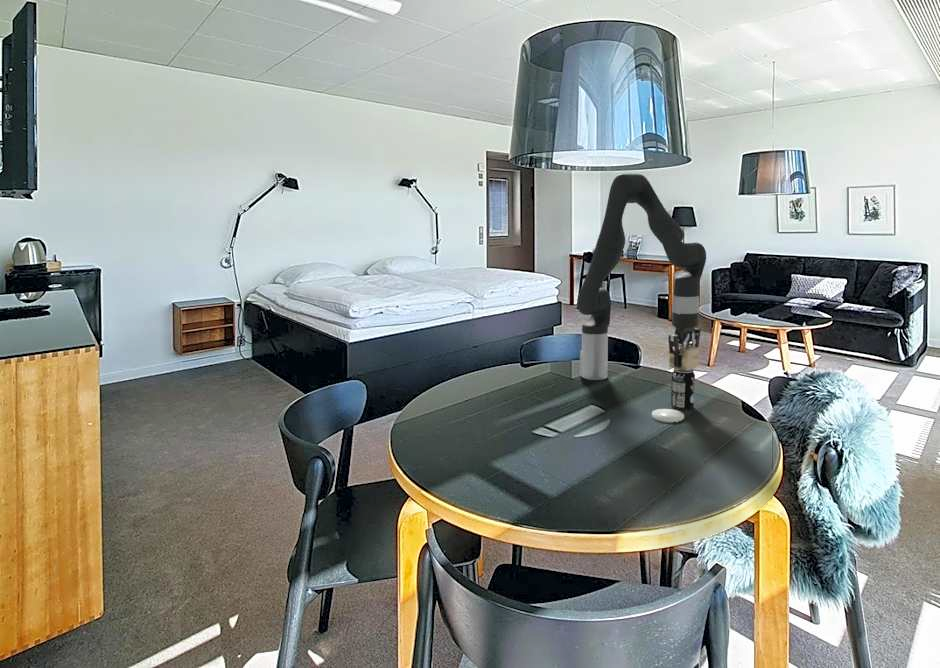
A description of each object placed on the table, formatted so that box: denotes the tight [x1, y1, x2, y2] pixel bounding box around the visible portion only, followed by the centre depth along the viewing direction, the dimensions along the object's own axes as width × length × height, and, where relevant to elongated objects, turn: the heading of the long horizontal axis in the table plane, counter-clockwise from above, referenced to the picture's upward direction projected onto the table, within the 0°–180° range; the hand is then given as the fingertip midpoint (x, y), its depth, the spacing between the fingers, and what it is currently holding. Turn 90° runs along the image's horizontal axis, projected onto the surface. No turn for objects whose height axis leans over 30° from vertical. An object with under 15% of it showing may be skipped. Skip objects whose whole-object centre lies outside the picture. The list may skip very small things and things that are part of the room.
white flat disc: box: [651, 408, 685, 424], centre depth 163 cm, size 9×9×1 cm
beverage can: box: [670, 368, 696, 410], centre depth 170 cm, size 7×7×12 cm
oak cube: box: [668, 346, 700, 371], centre depth 168 cm, size 6×6×6 cm
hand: (683, 364), depth 169 cm, fingers closed on oak cube, 5 cm apart
